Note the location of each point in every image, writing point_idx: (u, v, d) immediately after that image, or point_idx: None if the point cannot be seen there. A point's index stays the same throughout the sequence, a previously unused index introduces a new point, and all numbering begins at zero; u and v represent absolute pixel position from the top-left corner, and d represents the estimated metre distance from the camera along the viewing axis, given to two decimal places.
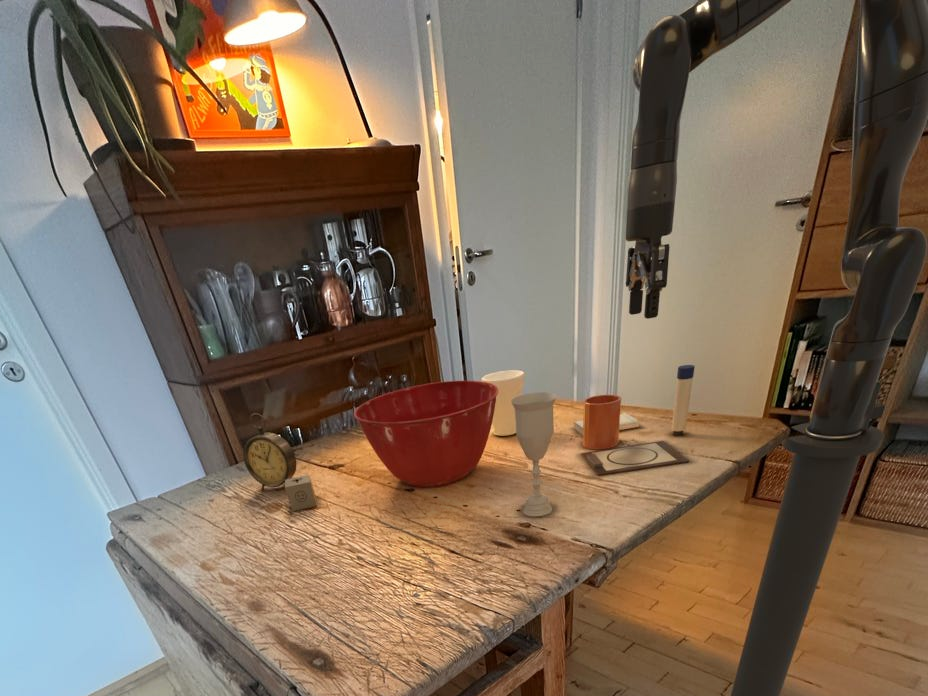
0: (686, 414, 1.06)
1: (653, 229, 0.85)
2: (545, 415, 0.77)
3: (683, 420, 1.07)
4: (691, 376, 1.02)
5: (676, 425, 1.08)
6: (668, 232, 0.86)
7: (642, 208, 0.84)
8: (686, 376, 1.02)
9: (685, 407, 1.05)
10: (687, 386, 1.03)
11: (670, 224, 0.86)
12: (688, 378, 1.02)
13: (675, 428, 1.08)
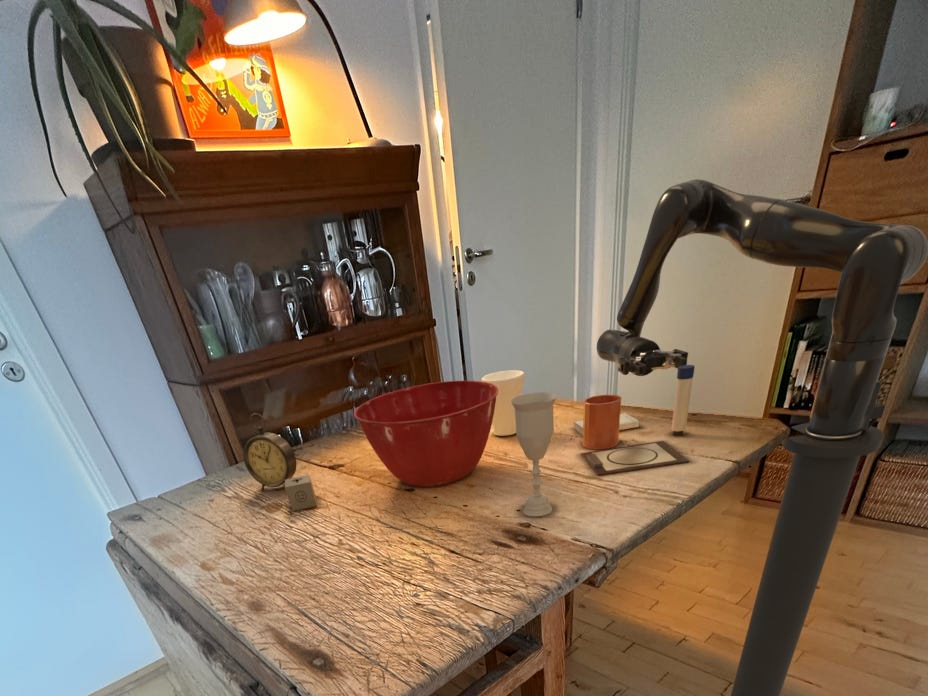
0: (686, 414, 1.06)
1: None
2: (545, 415, 0.77)
3: (683, 420, 1.07)
4: (691, 376, 1.02)
5: (676, 425, 1.08)
6: (633, 349, 1.20)
7: None
8: (686, 376, 1.02)
9: (685, 407, 1.05)
10: (687, 386, 1.03)
11: (632, 347, 1.21)
12: (688, 378, 1.02)
13: (675, 428, 1.08)
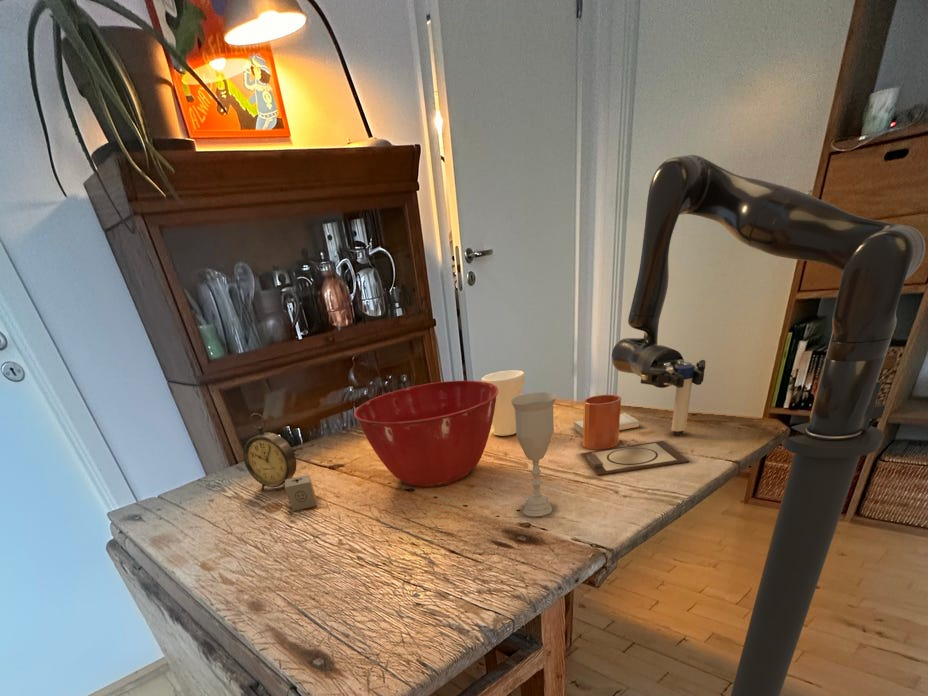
0: (686, 414, 1.06)
1: None
2: (545, 415, 0.77)
3: (683, 420, 1.07)
4: (691, 376, 1.02)
5: (676, 425, 1.08)
6: (654, 359, 1.10)
7: None
8: (686, 376, 1.02)
9: (685, 407, 1.05)
10: (687, 386, 1.03)
11: (653, 356, 1.10)
12: (688, 378, 1.02)
13: (675, 428, 1.08)
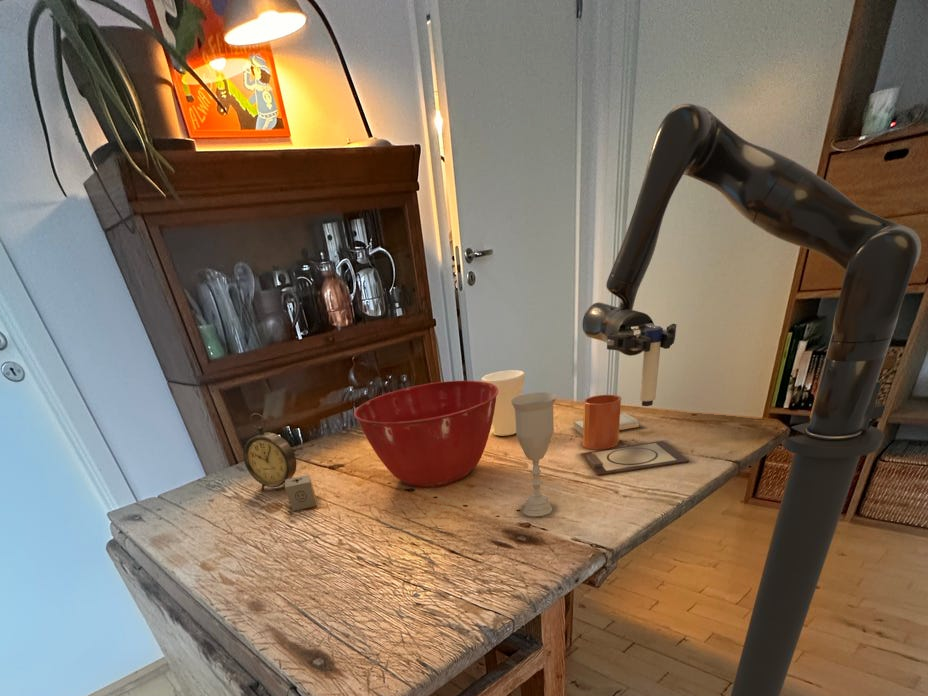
0: (655, 382, 0.98)
1: None
2: (545, 415, 0.77)
3: (652, 389, 0.98)
4: (659, 339, 0.93)
5: (645, 394, 0.99)
6: (621, 323, 1.01)
7: None
8: (653, 339, 0.93)
9: (654, 374, 0.97)
10: (655, 350, 0.94)
11: (621, 321, 1.02)
12: (656, 341, 0.94)
13: (643, 398, 1.00)
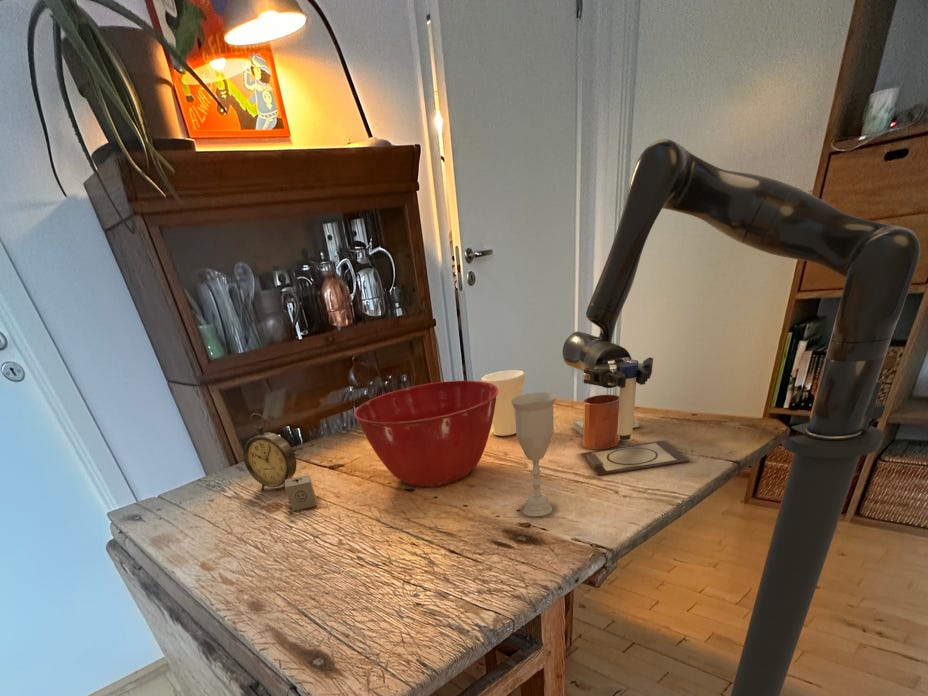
0: (631, 417, 0.97)
1: None
2: (545, 415, 0.77)
3: (628, 423, 0.98)
4: (634, 375, 0.93)
5: (622, 429, 0.98)
6: (598, 356, 1.01)
7: None
8: (629, 375, 0.93)
9: (630, 409, 0.96)
10: (631, 386, 0.94)
11: (597, 354, 1.01)
12: (631, 377, 0.93)
13: (621, 432, 0.99)
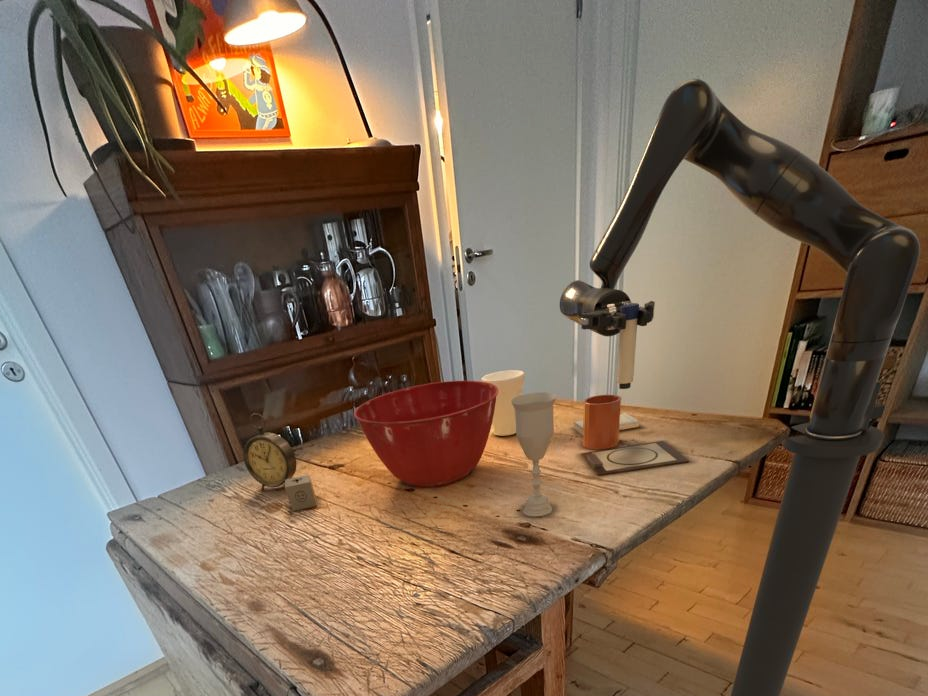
0: (632, 363, 0.92)
1: None
2: (545, 415, 0.77)
3: (629, 370, 0.93)
4: (635, 316, 0.88)
5: (622, 376, 0.93)
6: (597, 301, 0.96)
7: None
8: (629, 316, 0.88)
9: (631, 354, 0.91)
10: (631, 328, 0.89)
11: (596, 299, 0.96)
12: (632, 319, 0.88)
13: (620, 380, 0.94)
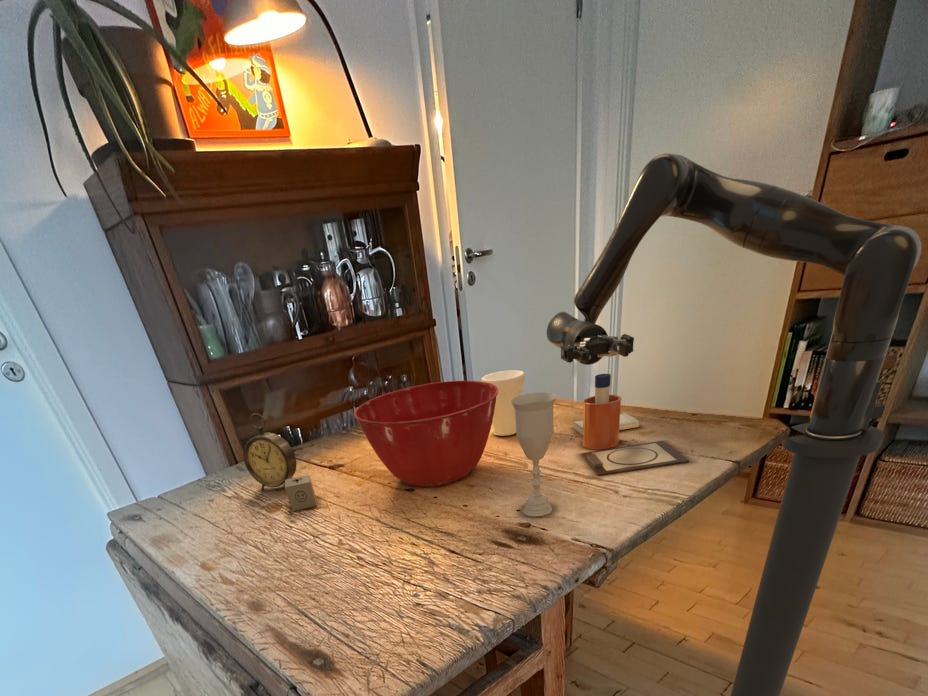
0: None
1: None
2: (545, 415, 0.77)
3: None
4: (607, 385, 1.04)
5: None
6: (577, 334, 1.08)
7: None
8: (602, 385, 1.03)
9: None
10: (604, 394, 1.05)
11: (577, 332, 1.08)
12: (604, 387, 1.04)
13: None
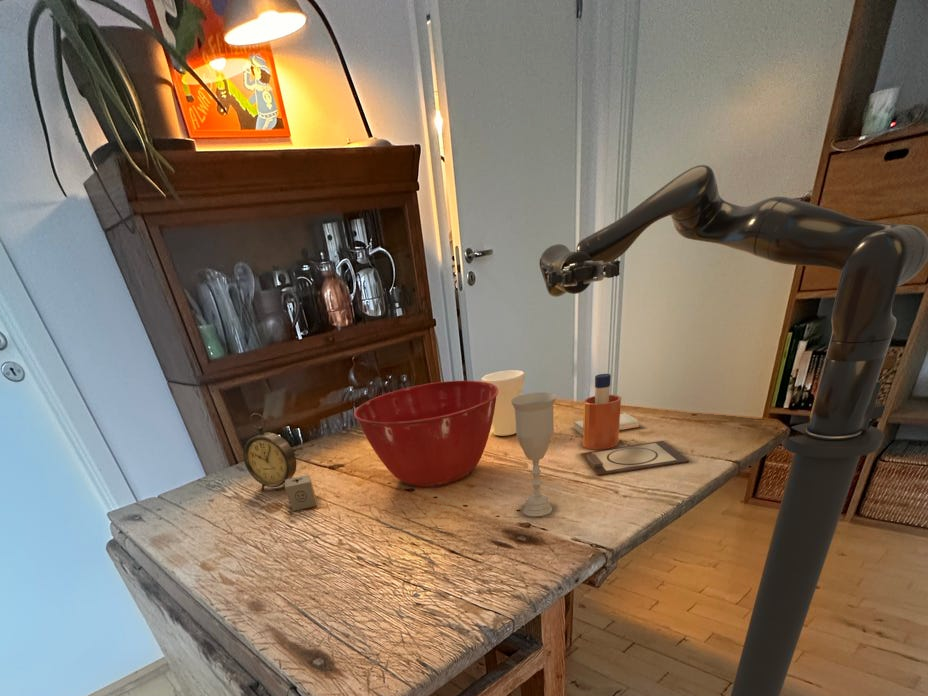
0: None
1: None
2: (545, 415, 0.77)
3: None
4: (607, 385, 1.04)
5: None
6: (563, 262, 1.11)
7: (560, 287, 1.16)
8: (602, 385, 1.03)
9: None
10: (604, 394, 1.05)
11: (563, 260, 1.11)
12: (604, 387, 1.04)
13: None
